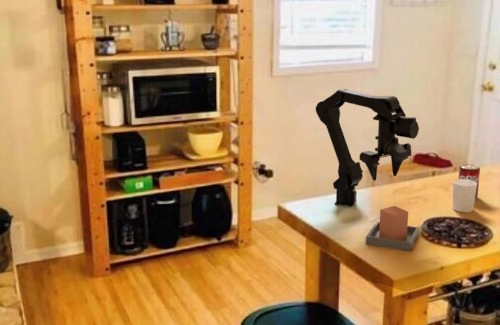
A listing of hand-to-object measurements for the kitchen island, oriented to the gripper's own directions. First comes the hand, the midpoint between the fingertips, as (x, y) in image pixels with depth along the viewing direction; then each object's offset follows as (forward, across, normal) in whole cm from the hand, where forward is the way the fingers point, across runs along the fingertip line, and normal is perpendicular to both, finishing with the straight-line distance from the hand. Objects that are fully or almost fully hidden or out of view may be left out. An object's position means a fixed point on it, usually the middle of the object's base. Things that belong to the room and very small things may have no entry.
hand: (384, 178), depth 203 cm
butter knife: (+14, -10, -4) cm, 17 cm away
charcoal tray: (+13, -13, -19) cm, 26 cm away
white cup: (+13, +27, -12) cm, 32 cm away
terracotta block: (+12, -13, -18) cm, 26 cm away
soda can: (+13, +38, -4) cm, 41 cm away
